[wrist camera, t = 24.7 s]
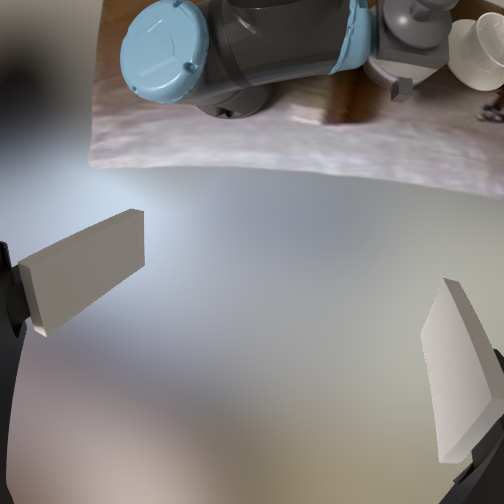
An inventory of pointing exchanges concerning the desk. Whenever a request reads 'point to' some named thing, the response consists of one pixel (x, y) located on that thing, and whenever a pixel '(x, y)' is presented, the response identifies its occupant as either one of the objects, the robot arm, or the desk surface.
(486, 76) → the saucer
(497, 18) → the white cup
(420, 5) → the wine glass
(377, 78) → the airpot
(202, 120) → the desk surface
